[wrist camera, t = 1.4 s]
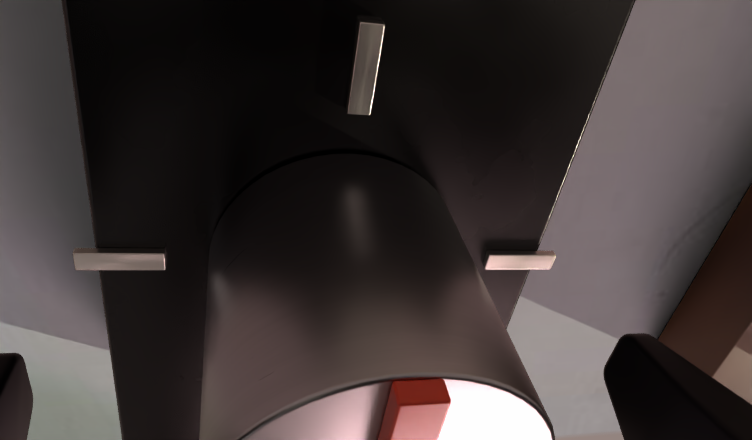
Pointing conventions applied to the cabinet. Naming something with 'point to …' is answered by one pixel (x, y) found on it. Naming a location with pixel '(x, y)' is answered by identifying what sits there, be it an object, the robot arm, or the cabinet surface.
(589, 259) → the cabinet surface
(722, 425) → the robot arm
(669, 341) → the button block
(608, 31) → the panel
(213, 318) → the knob
